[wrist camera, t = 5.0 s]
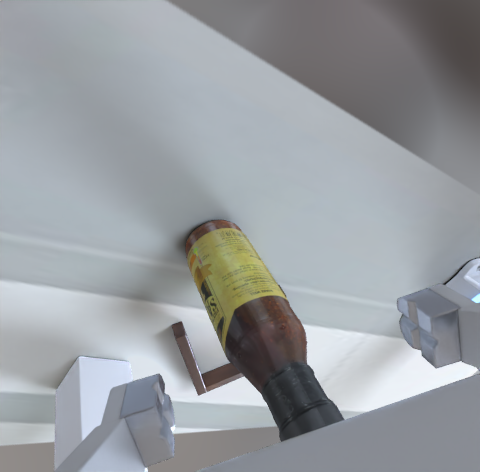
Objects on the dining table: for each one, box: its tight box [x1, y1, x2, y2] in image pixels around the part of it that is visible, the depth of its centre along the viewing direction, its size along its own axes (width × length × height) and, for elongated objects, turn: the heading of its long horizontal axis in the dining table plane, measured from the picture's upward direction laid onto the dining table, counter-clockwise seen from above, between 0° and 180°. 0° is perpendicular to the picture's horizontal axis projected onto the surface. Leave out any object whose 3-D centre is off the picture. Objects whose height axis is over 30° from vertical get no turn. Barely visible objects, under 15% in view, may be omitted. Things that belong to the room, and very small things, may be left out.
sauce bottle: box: [186, 220, 344, 442], centre depth 29 cm, size 6×6×20 cm
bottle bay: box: [172, 285, 286, 395], centre depth 46 cm, size 13×13×2 cm
